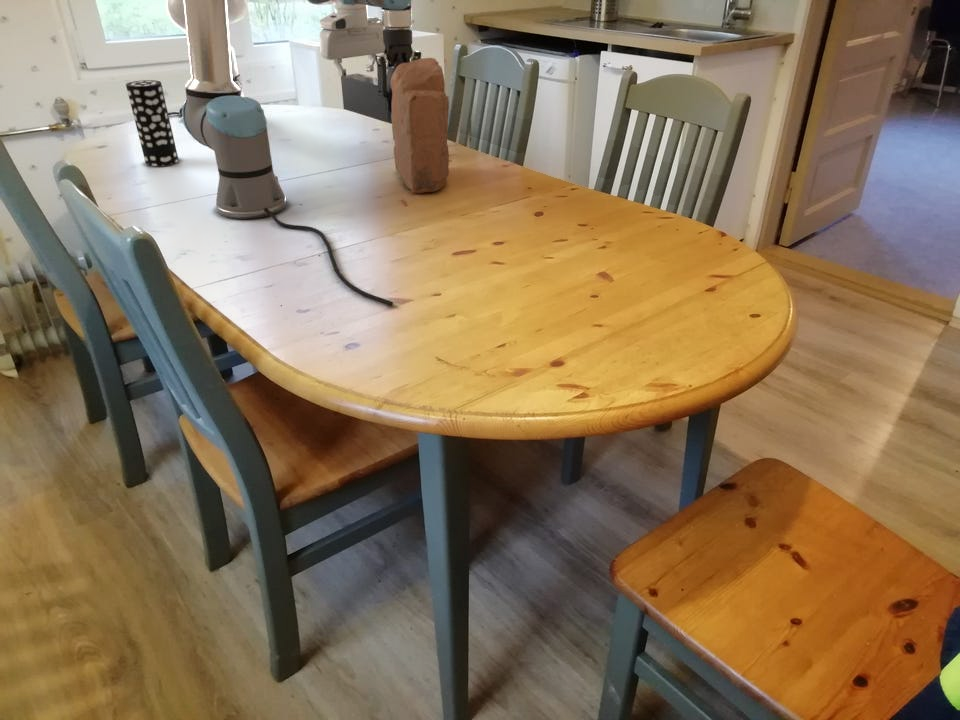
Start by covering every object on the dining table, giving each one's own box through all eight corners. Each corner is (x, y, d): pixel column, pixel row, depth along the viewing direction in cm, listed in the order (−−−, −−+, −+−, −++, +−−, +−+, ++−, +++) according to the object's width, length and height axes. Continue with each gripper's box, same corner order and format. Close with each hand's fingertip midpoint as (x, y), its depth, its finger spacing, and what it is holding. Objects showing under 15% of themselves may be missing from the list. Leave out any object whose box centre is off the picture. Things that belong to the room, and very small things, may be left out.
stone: (458, 191, 168) (455, 67, 154) (413, 195, 165) (406, 69, 151) (434, 168, 185) (430, 55, 171) (393, 172, 182) (386, 57, 168)
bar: (418, 123, 188) (417, 88, 183) (401, 126, 185) (399, 91, 180) (360, 106, 205) (357, 73, 200) (343, 109, 201) (340, 75, 196)
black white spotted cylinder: (184, 157, 190) (167, 80, 179) (169, 166, 183) (151, 87, 172) (155, 156, 190) (136, 79, 179) (139, 165, 183) (119, 86, 172)
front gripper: (416, 23, 184) (419, 113, 196) (358, 29, 173) (365, 124, 185) (434, 26, 179) (436, 118, 192) (376, 32, 168) (382, 129, 181)
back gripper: (375, 15, 196) (379, 67, 203) (313, 21, 184) (320, 76, 191) (389, 17, 192) (392, 70, 200) (326, 23, 180) (332, 79, 188)
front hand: (401, 120), depth 188 cm, fingers closed on bar, 6 cm apart
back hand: (356, 73), depth 195 cm, fingers open, 8 cm apart
